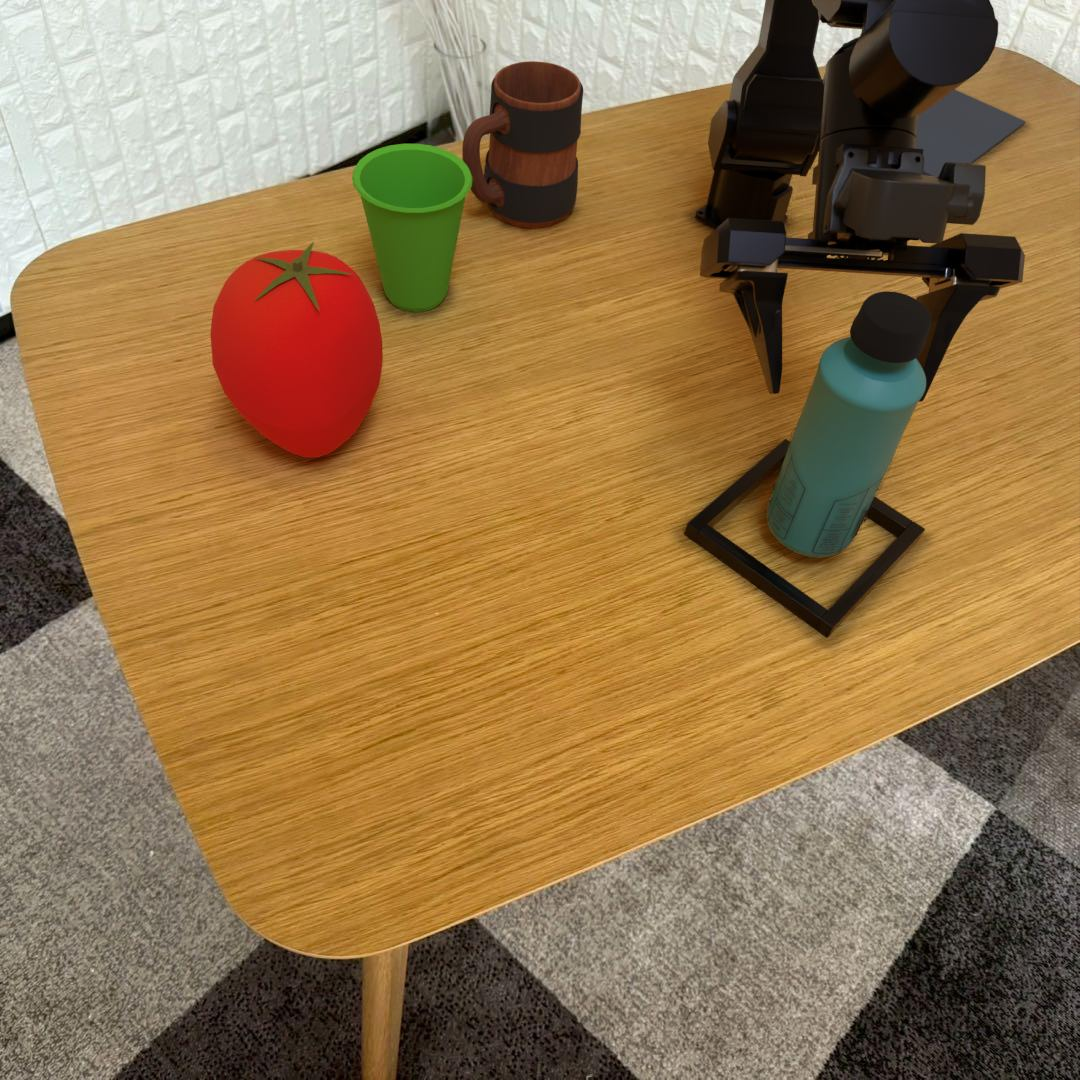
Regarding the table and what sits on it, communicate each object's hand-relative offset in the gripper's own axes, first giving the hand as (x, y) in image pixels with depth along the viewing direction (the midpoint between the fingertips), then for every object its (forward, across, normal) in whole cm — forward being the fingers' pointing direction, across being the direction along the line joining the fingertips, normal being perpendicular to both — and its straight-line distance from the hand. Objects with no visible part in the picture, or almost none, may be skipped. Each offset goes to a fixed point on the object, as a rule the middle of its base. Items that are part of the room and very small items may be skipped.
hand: (845, 397), depth 64 cm
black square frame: (+10, 0, +6) cm, 12 cm away
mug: (-17, -21, +33) cm, 43 cm away
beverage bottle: (+10, 0, +7) cm, 12 cm away
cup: (-8, -29, +24) cm, 38 cm away
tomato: (+4, -36, +13) cm, 38 cm away
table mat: (-31, +24, +47) cm, 61 cm away
